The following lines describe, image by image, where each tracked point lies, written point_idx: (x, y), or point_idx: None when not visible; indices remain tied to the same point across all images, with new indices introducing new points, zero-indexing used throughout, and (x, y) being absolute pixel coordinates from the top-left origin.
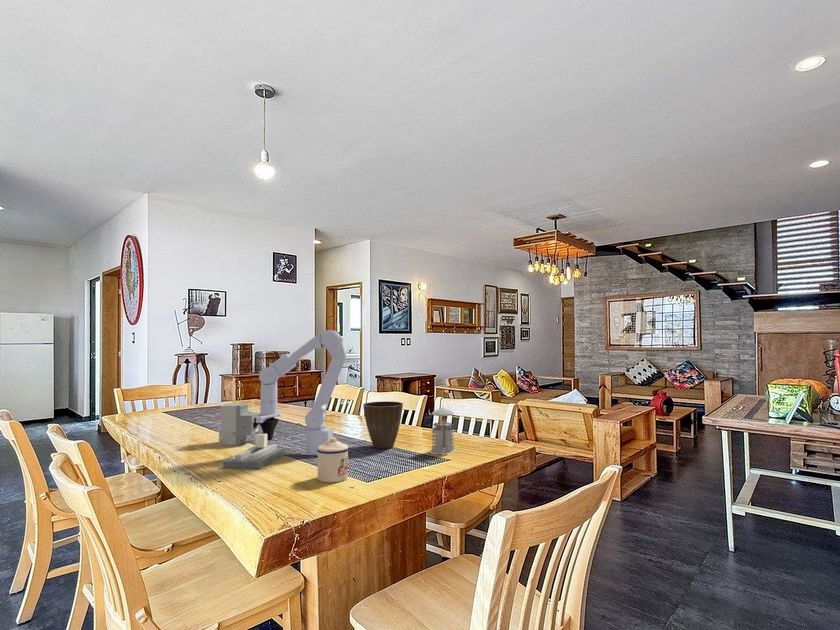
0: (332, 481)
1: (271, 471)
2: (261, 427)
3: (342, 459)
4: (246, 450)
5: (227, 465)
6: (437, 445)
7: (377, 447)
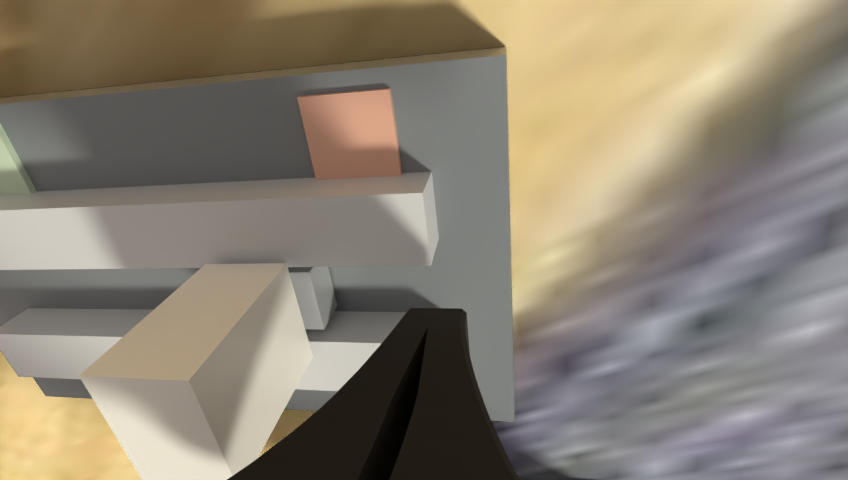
0: None
1: (97, 432)
2: (260, 460)
3: None
4: (88, 221)
5: None
6: None
7: None
